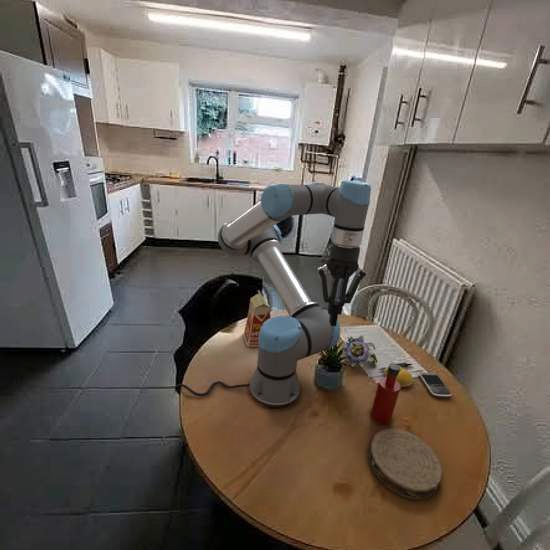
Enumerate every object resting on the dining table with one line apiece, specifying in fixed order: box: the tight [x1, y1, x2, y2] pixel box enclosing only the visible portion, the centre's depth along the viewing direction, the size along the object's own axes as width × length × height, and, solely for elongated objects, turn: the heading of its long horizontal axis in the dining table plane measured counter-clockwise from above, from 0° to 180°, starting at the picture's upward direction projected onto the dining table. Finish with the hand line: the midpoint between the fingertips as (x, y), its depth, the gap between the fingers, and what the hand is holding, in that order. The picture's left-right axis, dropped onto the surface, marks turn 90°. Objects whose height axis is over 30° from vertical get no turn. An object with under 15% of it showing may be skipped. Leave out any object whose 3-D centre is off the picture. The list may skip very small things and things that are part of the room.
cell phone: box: [418, 372, 452, 398], centre depth 102 cm, size 6×11×1 cm, turn 1°
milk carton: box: [242, 289, 272, 348], centre depth 115 cm, size 9×9×20 cm
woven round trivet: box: [368, 428, 443, 500], centre depth 75 cm, size 16×16×3 cm
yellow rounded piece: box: [383, 364, 414, 388], centre depth 104 cm, size 8×9×4 cm
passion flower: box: [342, 334, 378, 368], centre depth 110 cm, size 11×11×12 cm
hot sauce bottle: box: [370, 362, 402, 426], centre depth 85 cm, size 6×6×18 cm
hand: (332, 323), depth 88 cm, fingers closed
